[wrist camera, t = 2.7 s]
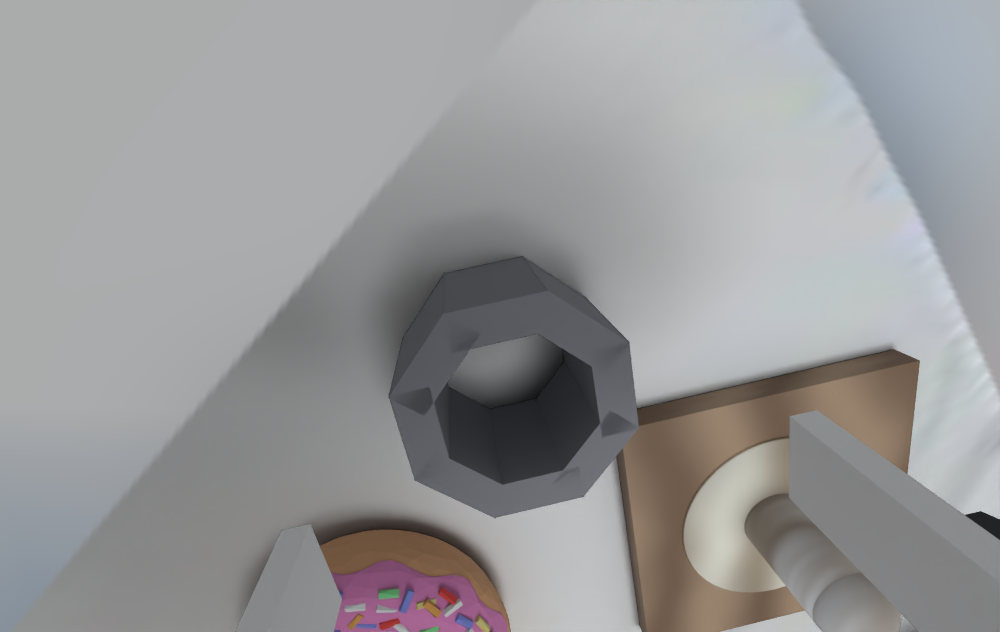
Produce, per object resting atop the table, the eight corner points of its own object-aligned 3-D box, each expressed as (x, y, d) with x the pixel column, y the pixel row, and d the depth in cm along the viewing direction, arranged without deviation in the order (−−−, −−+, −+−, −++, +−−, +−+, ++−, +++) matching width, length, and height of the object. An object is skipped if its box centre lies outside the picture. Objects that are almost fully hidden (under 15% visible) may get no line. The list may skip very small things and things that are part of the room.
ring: (434, 448, 25) (430, 533, 19) (387, 285, 22) (367, 329, 16) (601, 409, 25) (645, 482, 20) (577, 243, 22) (621, 273, 17)
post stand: (640, 626, 31) (711, 800, 23) (611, 415, 26) (690, 540, 17) (874, 568, 31) (1028, 716, 23) (894, 349, 26) (1102, 439, 18)
